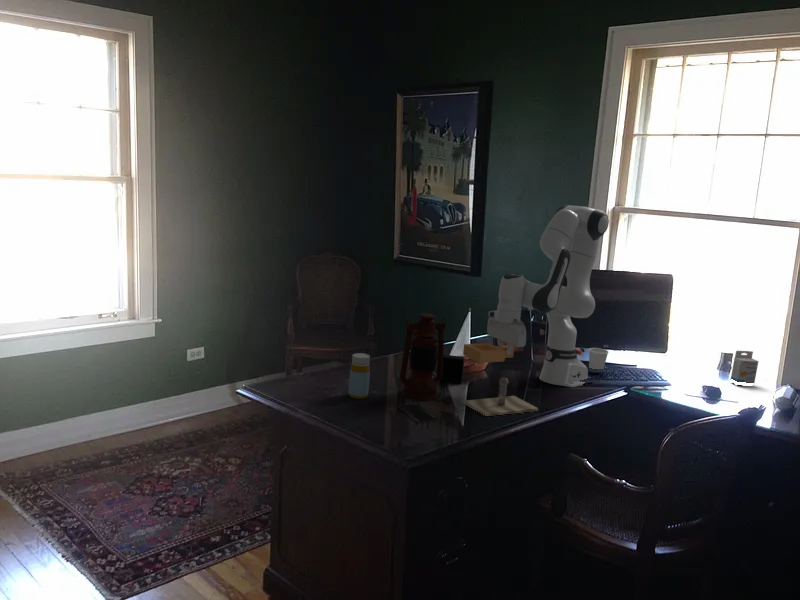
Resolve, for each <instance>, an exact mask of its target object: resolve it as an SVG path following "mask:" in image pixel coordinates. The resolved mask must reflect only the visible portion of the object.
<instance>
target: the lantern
mask: <svg viewBox="0 0 800 600" xmlns="http://www.w3.org/2000/svg"><path fill="white" fill-rule="evenodd" d="M417 318H419V319H418V322H414V323H411V321H410V319H409V318H407V317H406V318H405V323H406V326H405V330H406V334H405V341H404V347H403V354H402V360H401V367H400V373H399V374H400V375H399V380H400V382H401V384H403V388H402V389H401V392H400V394H401V396H402V397H404V398H405V399H408V398H409V400H413V401H417V400H419V402H431V401H435V400H438V399H439V395H440V393H439V392H438V383H439V382H440V380H441V379H442V376H443V354H444V345H445V344H444V343H445V340H444V339H445V336H444V335H445V330H446V324H447V318H446V317H443V318H442V319H441V321H440V322H435V320H436V318H437V316H436V315H434V314H432V313H424V312H423V313H420V314H418V315H417ZM443 320H445V321H444V322H443ZM436 330H437V332H436ZM437 333H438V334H437ZM413 335H414V336H415V337H414V338H412V337H413ZM436 336H438V337H437V338H438V339H437V338H434V337H436ZM408 362H409V363H408ZM408 364H409V369H410V373H411V375H410V376H409V377H408V378H406V375H407V371H408V370H407V369H408ZM437 364H438V368H436V367H437ZM435 371H436V375H437V377H436V376H435V377H432V376H433V374H434V372H435Z"/></svg>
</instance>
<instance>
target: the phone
mask: <svg viewBox="0 0 800 600" xmlns="http://www.w3.org/2000/svg"><path fill="white" fill-rule="evenodd" d="M397 409H398V411H400V412H402V413H403V414H405V415H406V416H407V417H409V418H411V419H412V420H413V421H415V422H416V421H417V422H416V423H418V422H419V423H418V424H425V422H426V423H433V421H434V422H438V421H439V417H438V416H436V415H435V414H433V413H431V412H430V411H428V410H426V409H425V408H423V407H422V406H420V405H419V404H417V403H415V404H414V403H411V404H404V405H398V406H397Z"/></svg>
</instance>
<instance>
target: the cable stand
mask: <svg viewBox="0 0 800 600" xmlns="http://www.w3.org/2000/svg"><path fill="white" fill-rule="evenodd" d="M508 385H509V379H508V378H507V377H504V376H503V377H501V378H500V379H499V391H498V396H497V397H490V398H489V397H487V398H479V399H477V398H475V399H468V400H464V405H466V406H467V407H469V408H470V409H472V410H474V411H475V410H476V411H475V412H477V411H478V413H479V412H480V413H481V414H480V413H479V414H480V415H482V414H483V415H482V416H484V415H485V416H494V417H496V416H495V415H503V414H512V415H514V414H513V413H521V414H524V413H523V412H529V413H535V412H534V411H539V408H538V407H536V406H535V405H532V404H531V403H529V402H527V401H525V400H524V399H522V398H519V397H517V396H516V395H509V396H507V387H508ZM485 416H484V417H485ZM503 416H504V415H503Z"/></svg>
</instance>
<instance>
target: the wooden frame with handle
mask: <svg viewBox="0 0 800 600" xmlns="http://www.w3.org/2000/svg"><path fill="white" fill-rule="evenodd" d="M505 349H507V344H506V345H503V346H498V345H493V344H492V343H489V342H486V343H485V342H484V343H483V342H480V343H467V344H466V343H465V344H463V350H462V351H463V352H462V355H463V356H465V357H467V358H468V359H471V360H472V361H475V362H476V363H479V364H483V363H484V364H485V363H499V362H501V363H502V362H505V361H506V359H507V358H514V352H515V346H513V348H512V349H511V353H510V355H507V354H505V353H506V351H505Z"/></svg>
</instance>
